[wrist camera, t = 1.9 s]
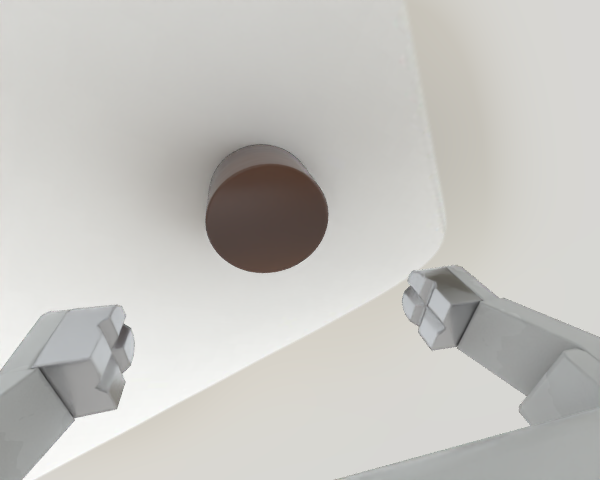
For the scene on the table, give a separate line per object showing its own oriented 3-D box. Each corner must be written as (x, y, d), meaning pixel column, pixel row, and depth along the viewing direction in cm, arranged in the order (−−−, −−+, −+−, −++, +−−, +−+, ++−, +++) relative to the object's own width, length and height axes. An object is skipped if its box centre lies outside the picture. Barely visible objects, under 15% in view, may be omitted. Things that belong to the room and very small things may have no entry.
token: (202, 144, 12) (196, 165, 10) (314, 143, 13) (335, 162, 11) (215, 242, 15) (213, 279, 12) (308, 235, 16) (323, 267, 13)
